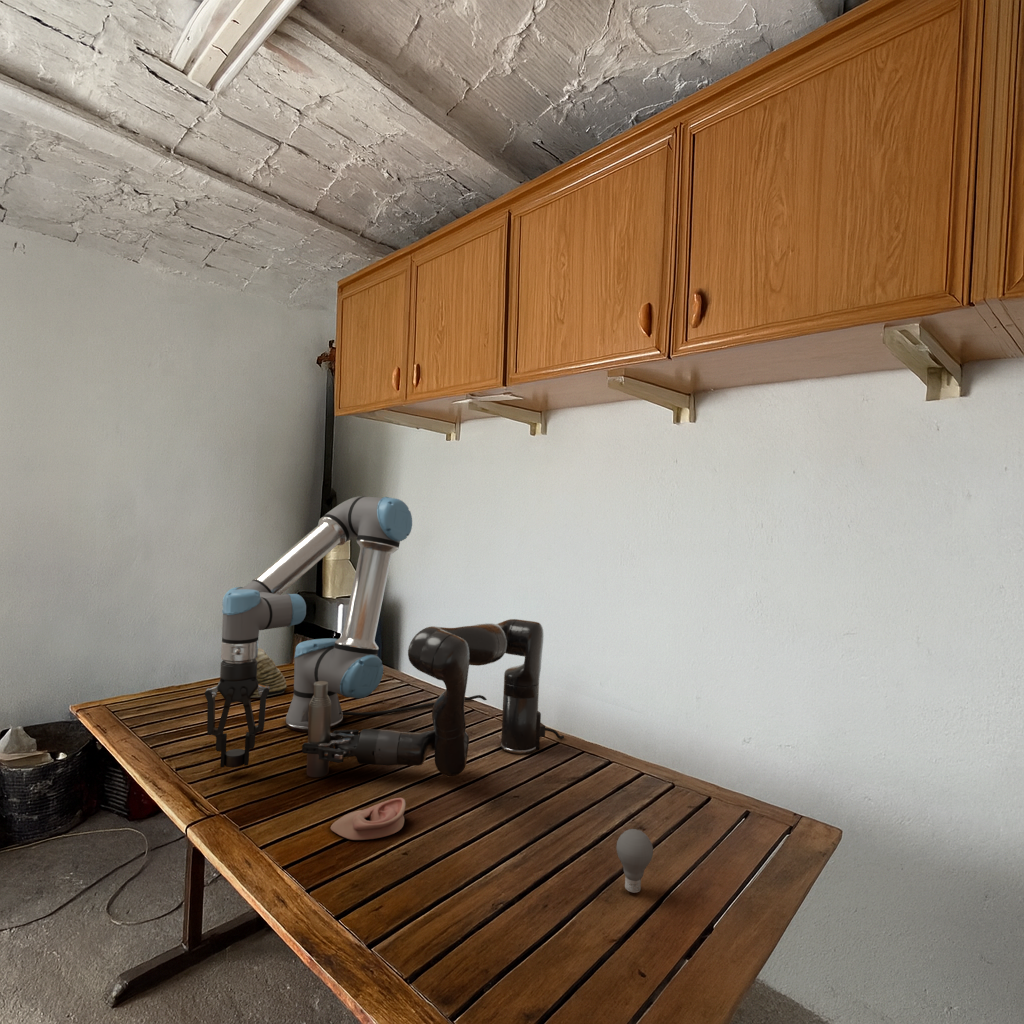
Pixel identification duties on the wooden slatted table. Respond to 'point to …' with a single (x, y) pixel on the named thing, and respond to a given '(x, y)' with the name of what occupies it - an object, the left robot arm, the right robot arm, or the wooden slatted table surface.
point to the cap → (234, 758)
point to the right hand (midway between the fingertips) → (307, 743)
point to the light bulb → (634, 857)
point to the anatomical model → (372, 821)
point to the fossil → (269, 675)
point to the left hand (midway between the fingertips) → (234, 763)
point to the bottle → (319, 728)
